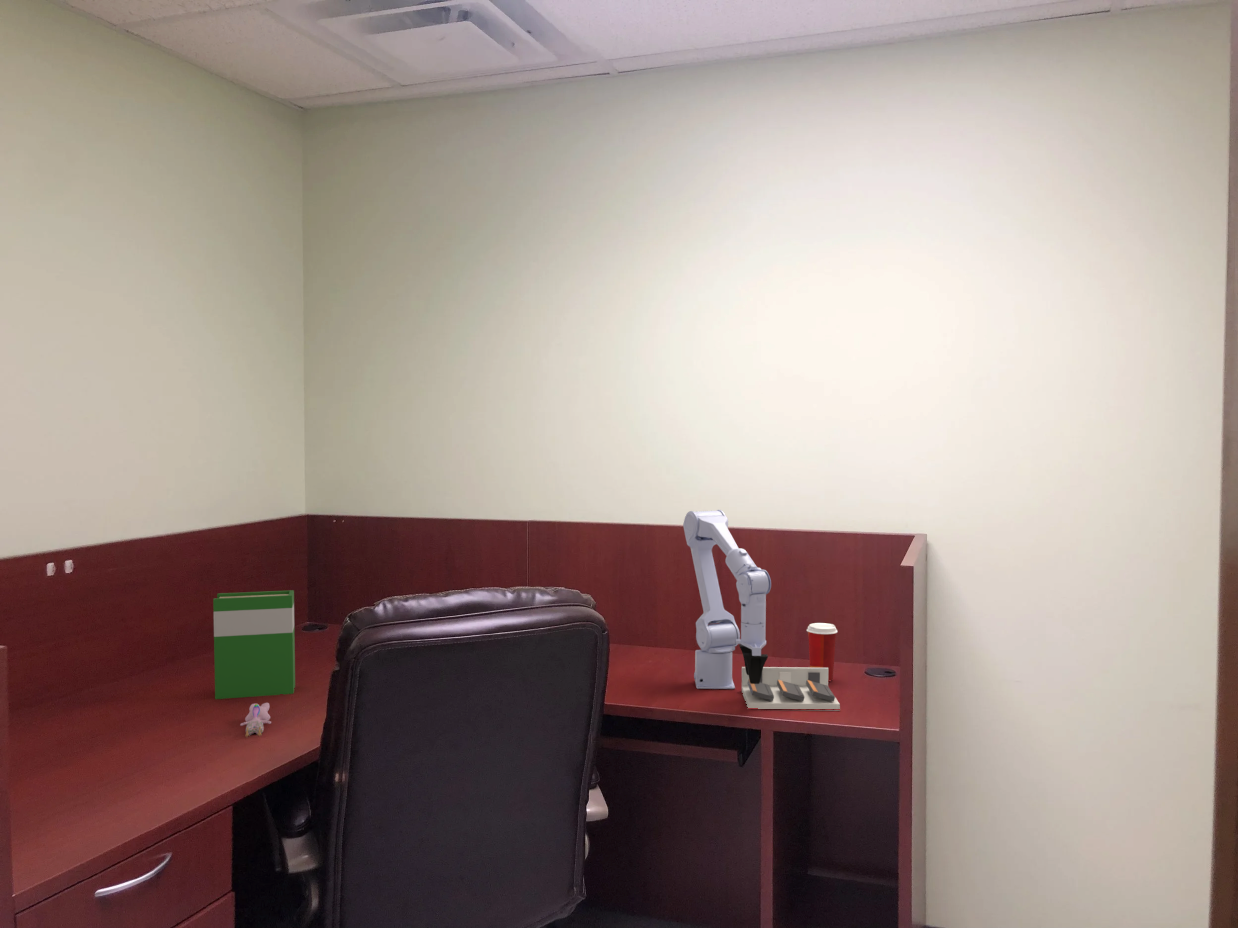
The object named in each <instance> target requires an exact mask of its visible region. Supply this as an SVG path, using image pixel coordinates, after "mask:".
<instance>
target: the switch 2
mask: <svg viewBox="0 0 1238 928" xmlns="http://www.w3.org/2000/svg"><path fill="white" fill-rule="evenodd" d="M776 684H777V686H778V688H779V690H780V692H781V694H782V696H786V697H790V698H793V699H797V700H801V701H803V700H804V695H803V693H802V691H801V689H800V688H799V686H798V685H796V684H792V683H788V682H785V681H781V680H777V683H776Z"/></svg>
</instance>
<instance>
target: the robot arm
mask: <svg viewBox="0 0 1238 928" xmlns="http://www.w3.org/2000/svg"><path fill="white" fill-rule="evenodd" d="M682 527H683V531H684V536H685V541H686V545H687V546H688V547H689V548H690V551H691V556H692V557H691V558H692V562H693V567H694V571H695V576H696V582H697V586H698V590H699V596H700V600H701V601H700V602H701V606H702V610H703V613H702V614H701V615H700V616H699V618H697V620H696V622H695V628H696V629H695V630H696V633H695V640H696V644H697V645H698V647H699V648H700V649H696V650H695V653H694V654H695V655H694V659H695V660H694V661H695V662H694V673H693V678H694V679H693V680H694V683H695V687H696V689H698V690H699V689H702V690H703V689H705V690H706V689H710V690H711V689H712V690H719V689H720V690H734V689H736V686H735V683H734V681H733V680H734V679H733V652H734V651H735V650H736V647H737V646H739V649H740V650H741V652H742V653H741V654H742V657H743V661H744V667H745V669H746V673H747V675H749V680H750V683H751V684H759V683H760V680H761V675H762V670H763V667H765V663H766V662H767V660H768V657H769V655H768V654H766V653H765V654H762V650H763V648H764V647H765V646H766V645H767V640H766V633H767V632H766V624H767V623H766V622H767V620H766V619H767V618H766V617H767V615H766V614H767V613H766V612H767V609H766V608H767V601H766V599H767V595H768V594H769V593H770V591H771V588H772V580H771V577H770V574H769V572H768V571H767V570H766V569H762V568H761V567H758V566H757V565H756V564H755V562H754V560H753V559H752V558H751V556H750V554H749V552H748V551H746V549H745V548H739V546H738V545H737V543H736V541H735V539H734V537H733V535H732V533H731V532H730V530H729V518H728V517H727V515H726V514H725V512H724V511H723V510H722V509H716V510H699V511H697V510H696V511H694V510H690V511H688V512H686V514H685V517H684V519H683V524H682ZM715 545H717V546H718V547H719V549H720V550H721V551H722V553H724V554H725V556H726V557H725V562H724V563H725V564H726V566H727V567H728V569H729V570H730V572H731V574H732V575H733V576H734V579H735V580H736V583H735V585H736V586H735V587H736V590H737V593H738V600H739V602H740V604H741V607H740V608H741V609H740V620H741V621H740V629H739V627H738V625H737V623H736V620H735V616H734V615H733V614H731V613H730V612H729V611H727V610H726V609H725V607H724V603H723V597H722V594H721V589H720V584H719V578H718V574H717V569H716V566H715V565H716V564H715V561H714V560H715V559H714V557H713V556H714V555H713V547H714V546H715Z"/></svg>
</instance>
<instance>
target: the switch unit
mask: <svg viewBox="0 0 1238 928" xmlns="http://www.w3.org/2000/svg"><path fill="white" fill-rule="evenodd" d="M748 679H749V675H747V673H746V669H745V666H741V693H743V694H742V696H743V699H744V701H746V702H745V704H747V705H746V707H748V708H758V709H840V710H841V704H840V702H839V701H838V699H837V697H835V699H834V701H830V700H826V699H823V698H819V697H815V696H813V695H812V694H811V692H810V690H809V689H808V687H807V685H806V681H807V680H809V681H813V682H816V683H820V684H824V685H827V686H828V687H829V682H828V668H810V666H808V667H798V666H794V667H790V666H788V667H787V666H782V667H781V666H779V667H778V666H770V667H769V666H763V670H762V675H761V680H760V683H764V684H767V685H769V686H770V688H771V691H772V693H773V695H774V699H773V701H771V700H768V699H764V698H760V697H757V696H753V695H752V694H751V692H750V689H749V686H748V684H747V683H748ZM777 680H781V681H785V682H788V683H792V684H796V685H798V686H799V688H800V689H801V691H802V693H803V695H804V700H803V701H801V700H797V699H793V698H790V697H786V696H782V694H781V692H780V690H779V688H778V686H777V684H776V683H777ZM748 708H747V709H748Z"/></svg>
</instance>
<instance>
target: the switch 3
mask: <svg viewBox="0 0 1238 928" xmlns="http://www.w3.org/2000/svg"><path fill="white" fill-rule="evenodd" d="M806 685H807V687H808V689H809V690H810V692H811V694H812V695H813V696H815V697H819V698H823V699H826V700H830V701H834V699H835V698H836V696H835V695H834V693H833V692H832V691H831V689H830V687H829V685H828V686H827V685H824V684H820V683H816V682H813V681H809V680H807V681H806Z"/></svg>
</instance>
